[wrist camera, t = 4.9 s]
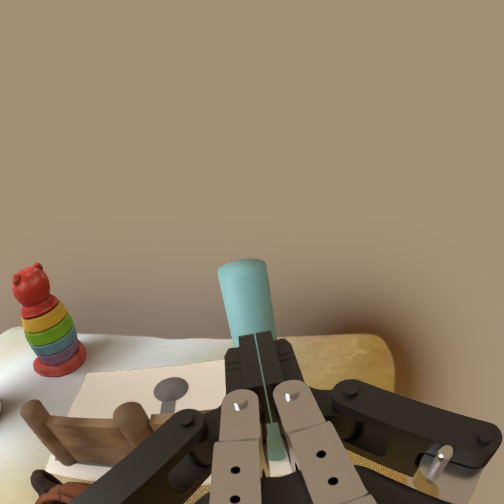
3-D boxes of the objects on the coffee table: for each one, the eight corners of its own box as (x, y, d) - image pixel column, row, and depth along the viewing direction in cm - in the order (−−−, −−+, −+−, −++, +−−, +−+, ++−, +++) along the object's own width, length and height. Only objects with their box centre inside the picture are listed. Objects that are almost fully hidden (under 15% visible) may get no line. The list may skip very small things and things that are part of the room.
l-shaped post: (174, 471, 23) (84, 303, 17) (176, 449, 26) (99, 284, 20) (293, 457, 24) (269, 273, 18) (288, 435, 27) (262, 255, 20)
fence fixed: (56, 464, 23) (16, 417, 20) (63, 446, 26) (26, 398, 23) (173, 473, 24) (140, 425, 21) (174, 451, 26) (145, 400, 24)
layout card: (45, 472, 22) (44, 471, 21) (88, 374, 40) (87, 372, 40) (302, 472, 23) (302, 470, 23) (271, 352, 42) (271, 350, 42)
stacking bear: (69, 340, 51) (36, 256, 45) (99, 350, 47) (62, 255, 41) (31, 369, 41) (-10, 280, 35) (58, 386, 37) (9, 284, 31)
